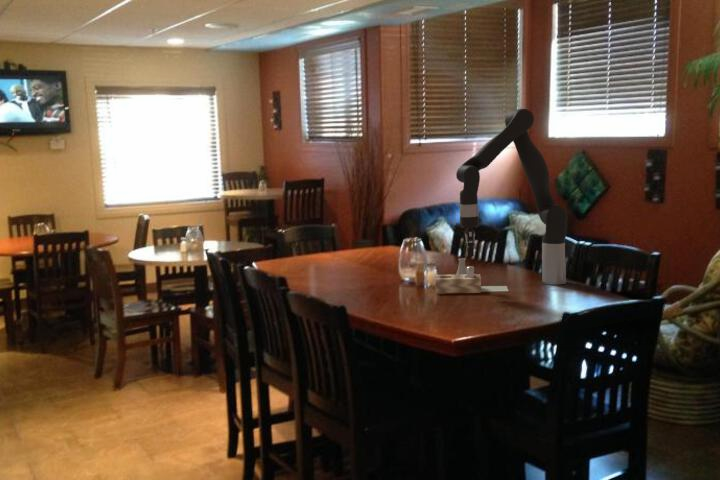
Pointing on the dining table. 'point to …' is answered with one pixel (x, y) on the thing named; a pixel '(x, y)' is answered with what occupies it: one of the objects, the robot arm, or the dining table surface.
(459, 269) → the flask
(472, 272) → the peg
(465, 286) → the hole block
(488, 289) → the mat
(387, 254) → the dining table surface
